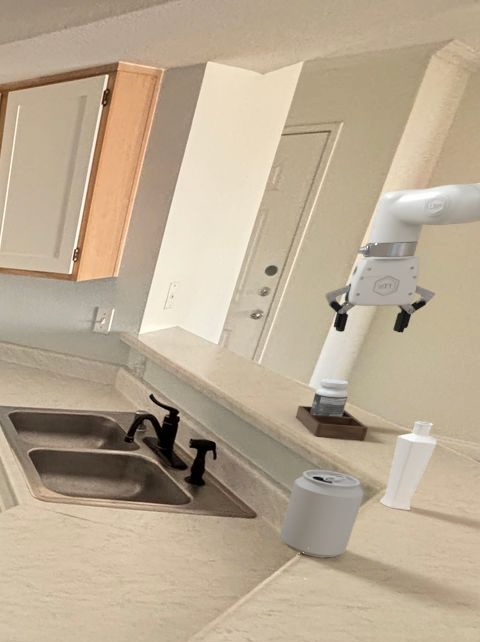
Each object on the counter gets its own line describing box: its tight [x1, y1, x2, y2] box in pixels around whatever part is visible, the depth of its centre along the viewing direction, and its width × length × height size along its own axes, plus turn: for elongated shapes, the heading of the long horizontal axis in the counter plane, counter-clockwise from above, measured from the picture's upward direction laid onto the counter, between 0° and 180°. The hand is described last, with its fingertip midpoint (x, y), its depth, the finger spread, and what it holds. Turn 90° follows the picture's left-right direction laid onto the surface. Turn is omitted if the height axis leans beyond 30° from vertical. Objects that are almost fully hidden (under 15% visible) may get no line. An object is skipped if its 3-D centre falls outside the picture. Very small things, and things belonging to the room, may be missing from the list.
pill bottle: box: [310, 378, 349, 417], centre depth 140 cm, size 6×6×10 cm
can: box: [279, 469, 365, 559], centre depth 88 cm, size 8×8×12 cm
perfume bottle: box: [379, 420, 438, 511], centre depth 99 cm, size 5×4×15 cm
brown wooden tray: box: [295, 405, 369, 441], centre depth 139 cm, size 8×16×3 cm, turn 151°
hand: (368, 331), depth 132 cm, fingers open, 9 cm apart
